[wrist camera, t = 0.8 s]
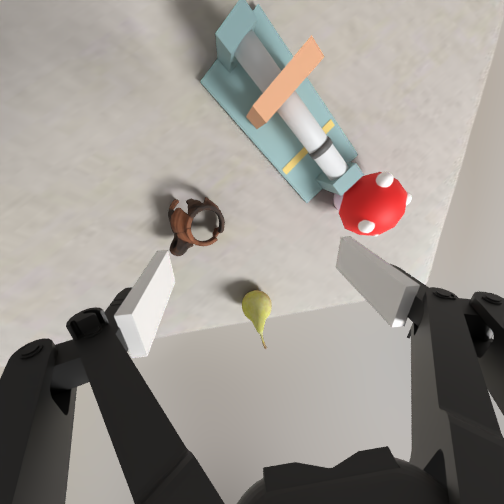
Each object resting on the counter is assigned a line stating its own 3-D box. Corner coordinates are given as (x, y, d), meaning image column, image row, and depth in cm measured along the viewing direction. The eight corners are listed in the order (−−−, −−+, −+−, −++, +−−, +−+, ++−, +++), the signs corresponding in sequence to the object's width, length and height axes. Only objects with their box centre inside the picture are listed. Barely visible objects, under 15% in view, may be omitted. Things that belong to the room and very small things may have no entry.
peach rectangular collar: (246, 116, 33) (252, 105, 25) (289, 65, 31) (311, 35, 22) (256, 129, 34) (266, 122, 26) (299, 80, 31) (324, 56, 23)
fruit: (265, 281, 49) (276, 318, 38) (271, 305, 52) (283, 345, 42) (237, 288, 49) (240, 327, 38) (245, 312, 52) (250, 354, 42)
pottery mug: (176, 181, 38) (195, 190, 32) (216, 204, 45) (238, 215, 39) (148, 240, 39) (161, 258, 33) (191, 254, 46) (208, 271, 40)
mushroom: (367, 156, 39) (420, 159, 29) (381, 206, 44) (431, 224, 33) (316, 187, 41) (348, 200, 30) (335, 232, 45) (368, 257, 35)
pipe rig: (201, 83, 32) (193, 63, 25) (257, 8, 29) (267, -41, 22) (305, 201, 42) (322, 213, 34) (355, 154, 39) (385, 155, 31)
